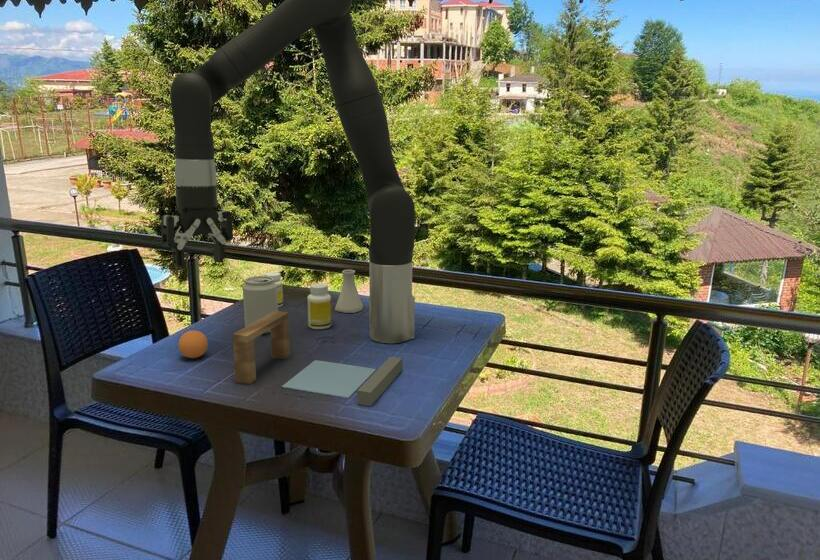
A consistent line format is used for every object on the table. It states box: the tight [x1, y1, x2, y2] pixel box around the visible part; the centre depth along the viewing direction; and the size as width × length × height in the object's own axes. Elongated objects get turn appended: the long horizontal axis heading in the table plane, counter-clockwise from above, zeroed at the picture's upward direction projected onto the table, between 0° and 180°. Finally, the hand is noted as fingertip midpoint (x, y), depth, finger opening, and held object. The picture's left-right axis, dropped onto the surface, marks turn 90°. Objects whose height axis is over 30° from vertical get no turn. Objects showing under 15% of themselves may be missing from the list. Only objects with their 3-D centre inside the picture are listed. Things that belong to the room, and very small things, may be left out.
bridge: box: [232, 310, 291, 385], centre depth 115 cm, size 3×14×9 cm, turn 161°
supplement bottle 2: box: [306, 282, 333, 330], centre depth 139 cm, size 5×5×10 cm
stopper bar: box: [356, 356, 403, 407], centre depth 109 cm, size 2×16×2 cm, turn 162°
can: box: [242, 275, 279, 335], centre depth 136 cm, size 8×8×12 cm
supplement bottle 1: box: [263, 271, 284, 308], centre depth 154 cm, size 5×5×8 cm
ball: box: [178, 330, 209, 359], centre depth 121 cm, size 6×6×6 cm
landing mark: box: [281, 359, 377, 399], centre depth 112 cm, size 13×13×1 cm
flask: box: [334, 269, 364, 314], centre depth 152 cm, size 7×7×10 cm
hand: (199, 265), depth 121 cm, fingers open, 8 cm apart
